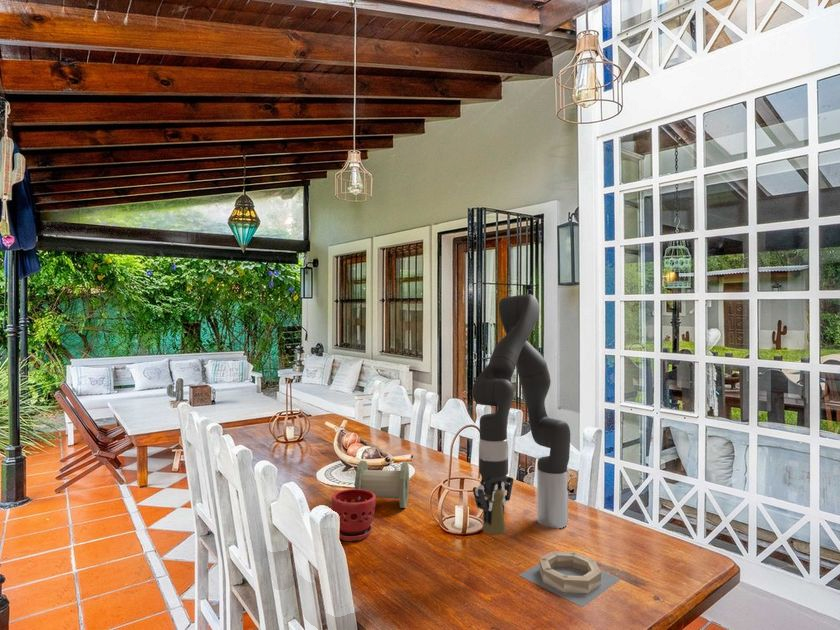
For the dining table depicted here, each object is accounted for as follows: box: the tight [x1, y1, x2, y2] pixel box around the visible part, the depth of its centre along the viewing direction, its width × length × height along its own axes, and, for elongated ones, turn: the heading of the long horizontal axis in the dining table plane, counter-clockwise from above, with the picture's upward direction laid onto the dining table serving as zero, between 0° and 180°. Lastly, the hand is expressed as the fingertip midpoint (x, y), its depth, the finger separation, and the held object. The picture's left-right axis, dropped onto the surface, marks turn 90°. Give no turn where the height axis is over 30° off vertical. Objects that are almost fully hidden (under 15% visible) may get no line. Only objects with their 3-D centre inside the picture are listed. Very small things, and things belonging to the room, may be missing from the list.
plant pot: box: [331, 488, 377, 542], centre depth 151 cm, size 13×13×12 cm
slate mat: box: [518, 563, 621, 608], centre depth 126 cm, size 18×18×1 cm
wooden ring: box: [538, 551, 602, 593], centre depth 126 cm, size 14×14×3 cm
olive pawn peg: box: [481, 488, 507, 536], centre depth 129 cm, size 6×6×11 cm
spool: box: [354, 460, 410, 509], centre depth 173 cm, size 16×15×15 cm
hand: (493, 520), depth 129 cm, fingers closed on olive pawn peg, 4 cm apart
